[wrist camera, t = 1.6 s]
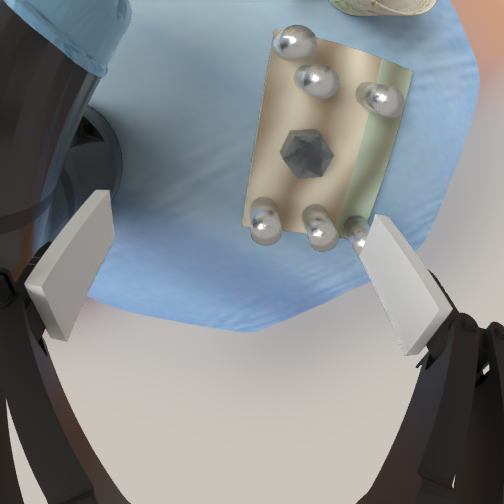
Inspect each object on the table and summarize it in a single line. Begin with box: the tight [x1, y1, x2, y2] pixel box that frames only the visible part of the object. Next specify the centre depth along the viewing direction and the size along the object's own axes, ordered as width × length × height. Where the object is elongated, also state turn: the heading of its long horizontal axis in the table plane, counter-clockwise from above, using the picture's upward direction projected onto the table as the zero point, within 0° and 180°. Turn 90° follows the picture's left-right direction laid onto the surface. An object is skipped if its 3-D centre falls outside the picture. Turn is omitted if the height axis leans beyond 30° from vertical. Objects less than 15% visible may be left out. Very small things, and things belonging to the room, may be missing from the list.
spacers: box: [250, 25, 405, 259], centre depth 26 cm, size 15×22×5 cm
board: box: [242, 29, 413, 239], centre depth 29 cm, size 15×22×1 cm
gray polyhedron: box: [280, 129, 334, 179], centre depth 28 cm, size 5×4×2 cm
